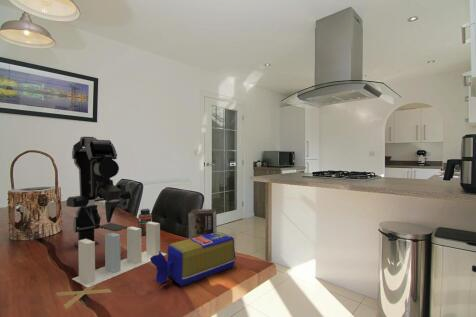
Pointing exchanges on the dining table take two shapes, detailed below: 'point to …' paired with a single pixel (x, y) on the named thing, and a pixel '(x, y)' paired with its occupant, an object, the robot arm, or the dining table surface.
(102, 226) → the smartphone
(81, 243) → the domino
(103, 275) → the row mat
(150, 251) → the domino
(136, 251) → the domino
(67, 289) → the dining table surface
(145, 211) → the supplement bottle
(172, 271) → the bread
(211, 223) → the coffee box
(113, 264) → the domino
